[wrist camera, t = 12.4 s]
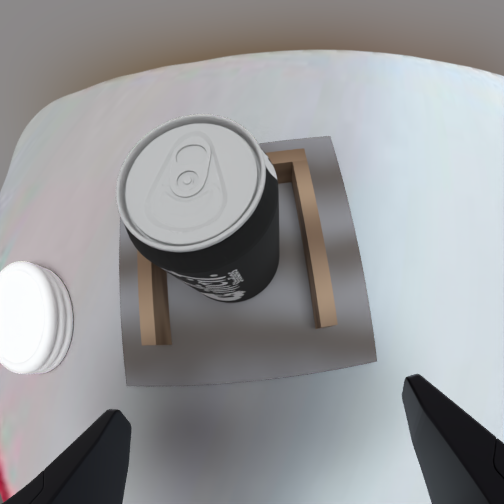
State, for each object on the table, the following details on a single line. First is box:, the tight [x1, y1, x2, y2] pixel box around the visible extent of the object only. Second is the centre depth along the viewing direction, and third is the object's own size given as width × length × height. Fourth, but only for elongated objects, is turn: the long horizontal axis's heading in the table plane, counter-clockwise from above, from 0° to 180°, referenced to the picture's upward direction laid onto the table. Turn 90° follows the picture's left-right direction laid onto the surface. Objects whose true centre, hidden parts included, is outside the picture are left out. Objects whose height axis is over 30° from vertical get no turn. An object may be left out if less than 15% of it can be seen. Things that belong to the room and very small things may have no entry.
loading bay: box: [119, 136, 377, 386], centre depth 22 cm, size 18×18×4 cm
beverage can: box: [116, 114, 280, 303], centre depth 17 cm, size 7×7×12 cm
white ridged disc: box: [0, 261, 73, 374], centre depth 22 cm, size 10×10×4 cm
